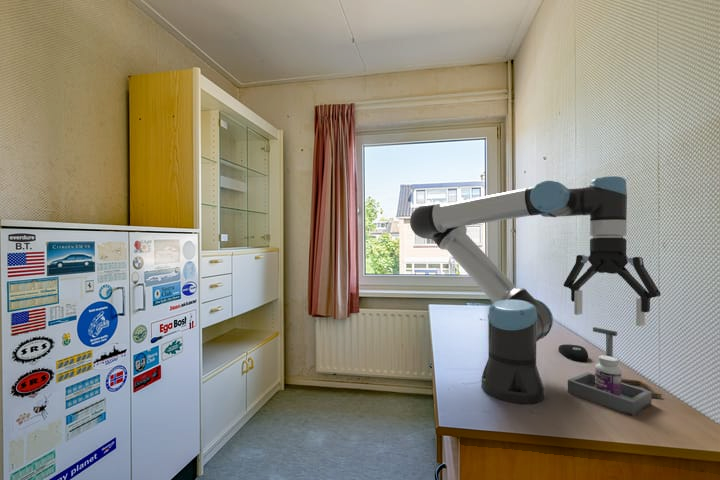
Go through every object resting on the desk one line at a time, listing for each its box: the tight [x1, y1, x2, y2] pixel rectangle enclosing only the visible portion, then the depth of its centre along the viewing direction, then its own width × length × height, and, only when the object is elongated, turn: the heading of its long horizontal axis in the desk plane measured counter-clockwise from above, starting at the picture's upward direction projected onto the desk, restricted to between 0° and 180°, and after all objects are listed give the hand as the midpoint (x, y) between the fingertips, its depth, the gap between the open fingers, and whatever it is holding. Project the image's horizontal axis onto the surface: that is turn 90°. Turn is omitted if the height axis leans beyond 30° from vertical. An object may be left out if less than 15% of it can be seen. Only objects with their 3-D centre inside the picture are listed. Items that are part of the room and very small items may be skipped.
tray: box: [567, 371, 652, 417], centre depth 82 cm, size 11×14×3 cm
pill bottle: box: [594, 354, 622, 397], centre depth 82 cm, size 5×5×10 cm
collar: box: [621, 378, 663, 399], centre depth 88 cm, size 9×9×1 cm
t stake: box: [592, 326, 618, 357], centre depth 99 cm, size 4×6×13 cm
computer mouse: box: [558, 343, 589, 363], centre depth 114 cm, size 8×12×4 cm, turn 166°
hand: (607, 319), depth 83 cm, fingers open, 13 cm apart
